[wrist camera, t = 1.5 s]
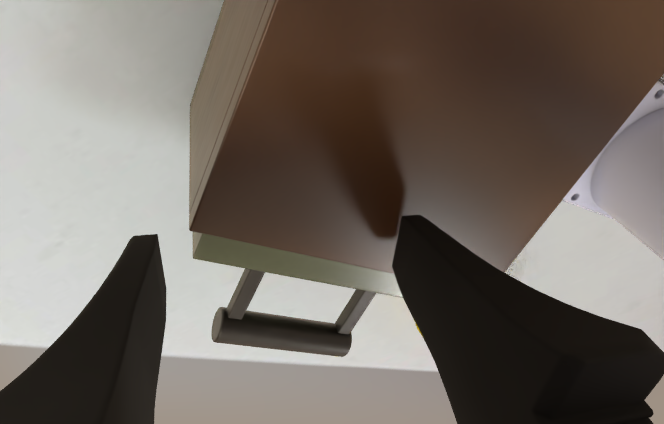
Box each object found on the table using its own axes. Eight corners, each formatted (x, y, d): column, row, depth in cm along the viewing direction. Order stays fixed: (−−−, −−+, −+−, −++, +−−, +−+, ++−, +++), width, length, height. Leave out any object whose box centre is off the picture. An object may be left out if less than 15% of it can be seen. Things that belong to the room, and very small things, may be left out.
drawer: (346, 273, 28) (386, 379, 22) (162, 236, 23) (153, 357, 17) (558, -81, 19) (718, -59, 13) (330, -249, 14) (421, -325, 9)
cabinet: (404, 175, 26) (487, 294, 18) (189, 105, 21) (188, 231, 13) (599, -151, 19) (854, -163, 11) (345, -375, 14) (515, -641, 6)
